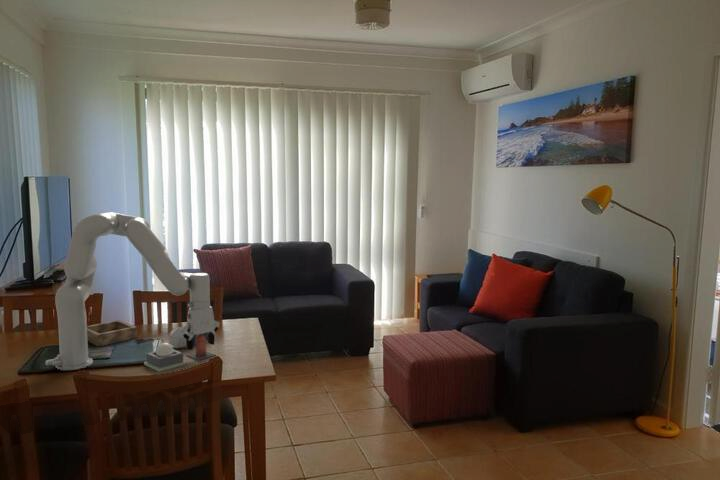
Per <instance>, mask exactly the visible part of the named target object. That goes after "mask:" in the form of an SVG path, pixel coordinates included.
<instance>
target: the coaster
mask: <svg viewBox="0 0 720 480" xmlns="http://www.w3.org/2000/svg"><path fill="white" fill-rule="evenodd" d="M186 357H188V358H190V359H193V360H196V361H201V360H205V359H210V358H213V357H216V354H215V353H212V352H209V351H207V350H206V355H205V356H201V357H199V356H196V352H194V353H189V354H187V355H186Z"/></svg>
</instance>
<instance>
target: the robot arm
mask: <svg viewBox="0 0 720 480" xmlns="http://www.w3.org/2000/svg"><path fill="white" fill-rule="evenodd" d="M108 235H116V236H120V237H125V238H126V239H127V240H128V241H129V242H130V243H131V244H132V246H133V247H134V248H135V249H136V250H137V252H138V253H139V254H140V255H141V256H142V258H143V259H144V261H146V263H147V264H148V266H149V267H150V269H151V270H152V272H153V273H154V275H155V276H156V278H157V279H158V280H159V282H160V283H161V284H162V285H163V286H164V287H165V288H166V290H167V291H168V292H169V293H171V294H172V295H174V296H182V295H184V294H186V293H187V292H188V291H189V303H187V307H188V311H187V317H186V318H187V319H186V325H185V326H183V327H181V328H182V329H181V330H180V332H181V334H182V336H183V337H184V338H185V339H186V349H187V350H189V351H193V348H194V346H193V340H191V339H192V337H193V336H194V335H199V334H203V333H208V332H209V333H210V334H208V339H207V342H208V344H209V345H212V346H213V345H215V335H216V334H217V331H218V330H219V327H220V325H221V323H220V322H219V321H217V320H215V315H214V311H213V306H211V288H210V287H211V285H210V284H211V283H210V282H211V281H210V278H211V277H210V275H209V274H208V273H206V272H194V273H191V272H181V271H179V270H178V269H177V267H176V266H175V264H174V263H173V262H172V260H171V258H170V256H169V253H168V250H167V248H166V246H164V244H163V243H162V242H161V240H160V239H159V238H158V237H157V236H156V235H155V233H154V232H153V230H151V227H150V224H149V222H148V221H147V220H146V219H145V218H143V217H141V216H133V215H128V214H123V213H117V212H111V211H104V212H103V211H102V212H100V213H99V212H98V213H95V214H91V215H89V216H88V215H87V216H86V217H84V218H82V219H81V220H79V222H78V223H77V224H76V225H75V227H74V229H73V231H72V234H71V238H70V243H69V246H68V250H67V253H66V254H67V255H66V258H65V262H64V266H63V271H64V273H65V276H66V278H65V283H64V284H62V285H61V286H60V287H59V288H58V289H57V290H56V294H55V298H54V299H55V300H54V301H55V302H54V303H55V308H56V314H57V328H58V343H59V344H58V345H59V347H58V348H59V353H58V354H57V355H56V357H54V358H52V359H51V358H50V359H46V360H44V361H45V366H51V365H52V366H55V369H56V368H57V370H59V369H60V370H59V371H74V370H75V371H77V370H81V368H82V369H85V368H88V367H89V366H91V365H93V364H94V360H93V358H91V357H90V356H89V343H88V342H89V341H88V339H87V326H88V323H87V321H88V319H87V311H86V304H85V302H86V300H87V299H88V298H89V297H90V295H91V293H92V292H91V291H92V288H93V284H94V280H95V276H96V270H97V259H96V258H95V256H94V254H95V249H96V245H97V240H98V239H99V238H100V237H103V236H108ZM186 330H187V332H188V333H187V334H186V333H185V331H186ZM87 366H88V367H87Z"/></svg>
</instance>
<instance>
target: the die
mask: <svg viewBox="0 0 720 480" xmlns="http://www.w3.org/2000/svg"><path fill="white" fill-rule="evenodd" d="M182 328H183V327H181V326H178V327H176V328H174V329H172V330H170V334H169V337H168V339H169V340H168V341H169V342H168V343H169V344H170V345H171V346H172V347H174V348H176V349H183V348H185V347H186V339H185V338H184V337H183V336H182V334H181V332H180V330H181V329H182ZM185 333H186V334H187V333H188V332H187V330H186V331H185ZM186 348H187V347H186Z"/></svg>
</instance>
